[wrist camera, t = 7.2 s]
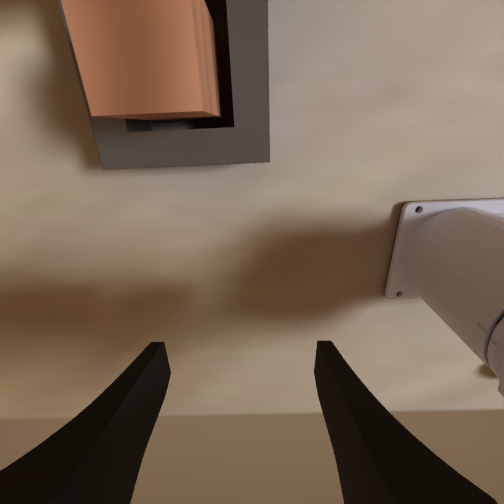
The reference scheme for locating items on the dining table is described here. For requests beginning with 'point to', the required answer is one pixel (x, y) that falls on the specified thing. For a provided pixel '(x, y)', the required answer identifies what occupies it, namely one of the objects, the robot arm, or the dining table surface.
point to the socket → (211, 139)
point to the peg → (148, 58)
